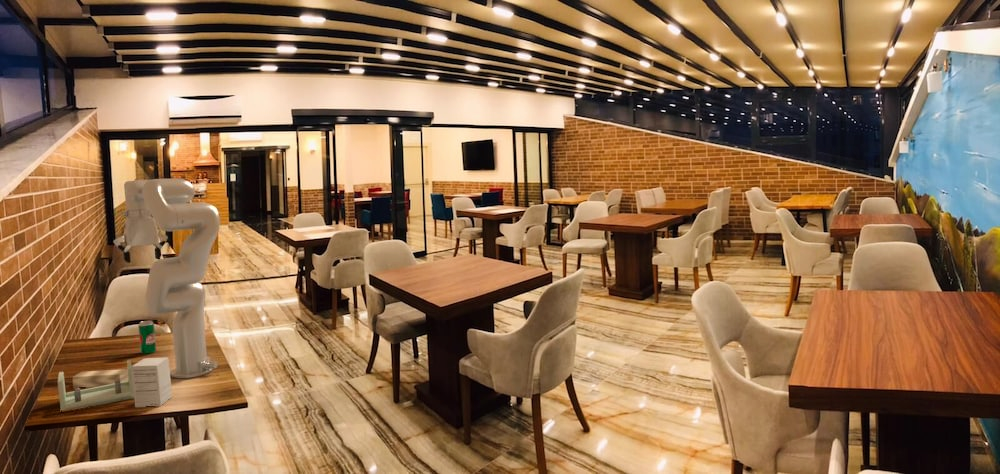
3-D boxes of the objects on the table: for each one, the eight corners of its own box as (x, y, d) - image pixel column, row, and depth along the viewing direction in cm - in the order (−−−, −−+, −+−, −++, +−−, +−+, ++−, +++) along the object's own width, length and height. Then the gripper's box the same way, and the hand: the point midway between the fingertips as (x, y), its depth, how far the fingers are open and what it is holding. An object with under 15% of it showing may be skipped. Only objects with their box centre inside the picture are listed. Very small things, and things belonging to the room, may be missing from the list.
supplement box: (147, 398, 171) (143, 357, 169) (173, 396, 172) (169, 356, 170) (134, 408, 164) (130, 366, 162) (160, 406, 164) (156, 365, 163)
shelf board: (128, 380, 187) (127, 368, 186) (120, 386, 182) (119, 374, 181) (82, 383, 185) (81, 371, 184) (73, 389, 180) (72, 377, 180)
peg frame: (132, 385, 181) (130, 358, 180) (135, 397, 171) (132, 369, 170) (62, 399, 170) (59, 371, 169) (60, 413, 161) (57, 382, 160)
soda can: (149, 354, 213) (146, 323, 211) (137, 354, 214) (134, 323, 212) (159, 350, 218) (156, 320, 216) (148, 350, 219) (145, 320, 217)
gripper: (114, 216, 197) (118, 264, 199) (168, 213, 209) (172, 258, 211) (108, 215, 202) (112, 262, 204) (161, 212, 214) (165, 257, 216)
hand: (143, 260), depth 207 cm, fingers open, 9 cm apart
